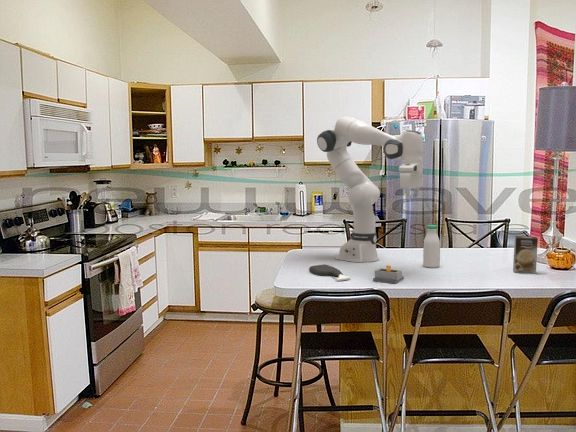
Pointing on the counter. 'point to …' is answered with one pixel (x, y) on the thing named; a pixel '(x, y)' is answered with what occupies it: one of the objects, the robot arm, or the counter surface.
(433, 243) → the milk bottle
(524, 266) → the coffee box
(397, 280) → the keeper
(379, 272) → the grey open tray
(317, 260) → the counter surface
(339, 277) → the drumstick
